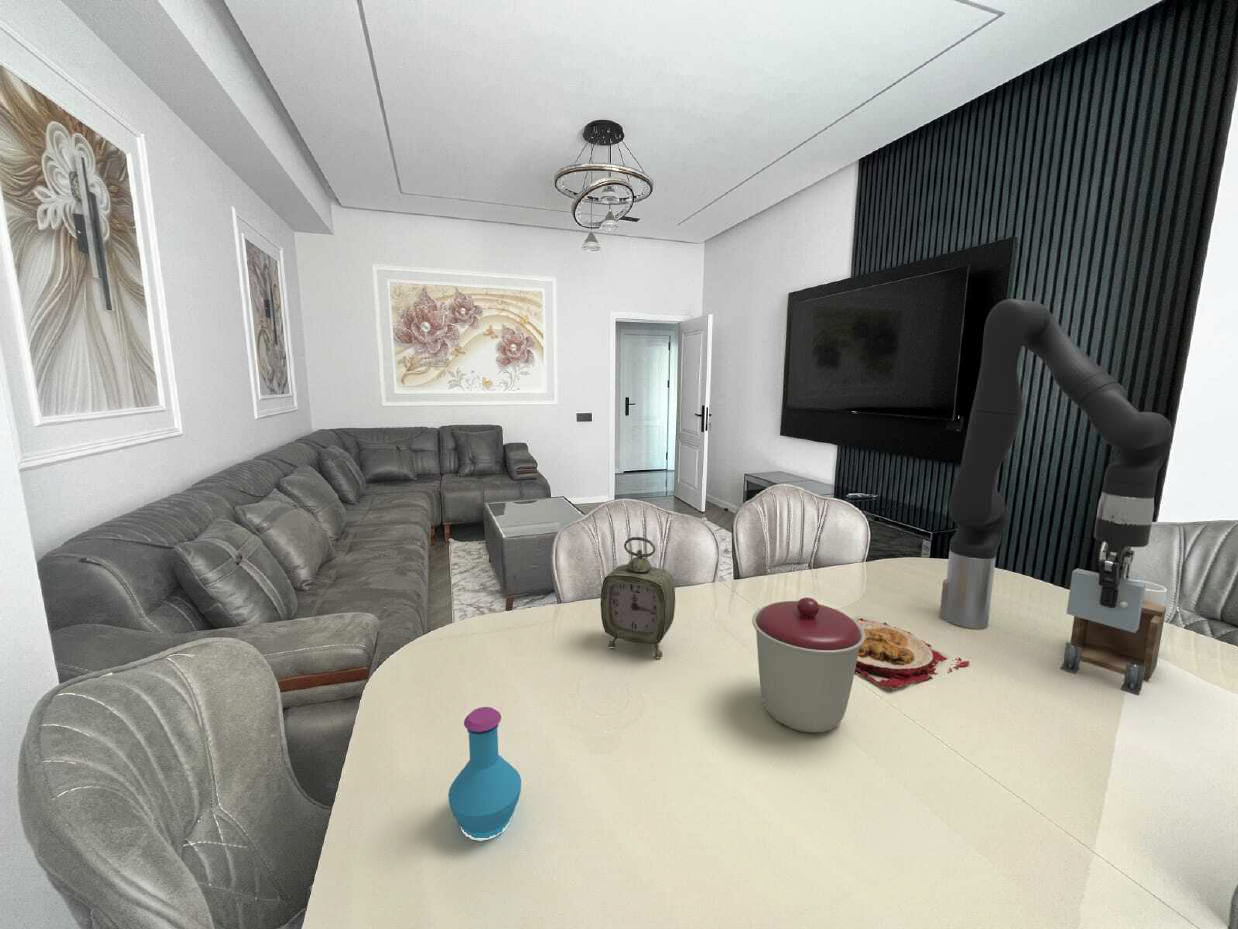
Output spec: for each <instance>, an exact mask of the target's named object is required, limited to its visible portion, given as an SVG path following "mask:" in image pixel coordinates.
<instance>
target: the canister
mask: <svg viewBox="0 0 1238 929" xmlns="http://www.w3.org/2000/svg"><path fill="white" fill-rule="evenodd" d="M853 619H854V618H852V617H849V615H847V614H845V613H844V612H842V611H840V610H837V609H835V608H832V607H830V606H826V605H824V604H820V603H818V601H817V600H816V599H814V598H811V597H802V598H800V599H799V600H789V601H786V600H785V601H778V602H777V601H776V602H774V603H771V604H769V605H766V606H763V607H760V608H758V610H756V611H755V612H754V614H752V618H751V623H752V625H753V627H754V629H755V631H756V633H755V634H756V647H757V661H758V662H757V663H758V675H759V684H760V692H761V693H760V694H761V699H762V702H763V705H764V707H765V708H766V710H767V712H768V713H769V714H770V715H771V717H772V718H774V719H775V721H778V722H779V724H782V725H784V726H785V727H788V728H790V729H793V730H795V729H796V731H800V732H806V733H818V732H819V733H824V732H827V731H830V730H831V729H832V730H833V729H835V728H836V727H837V726H838V725H839V724H840V723H841V721H842V720H843V718H844V717H845V713H846V711H847V707H848V703H849V699H850V696H851V690H852V687H853V686H852V685H853V683H854V682H853V681H854V677H855V673H856V672H855V668H856V663H857V659H858V653H859V648H860V647H861V646H862V644H863V643H864V642H865V638H866V635H865V632H864V630H863V628H862V627H861V626H860V625H859V624H858V623H857V622H856V620H855V619H854V620H855V621H854V620H853Z"/></svg>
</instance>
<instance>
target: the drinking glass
mask: <svg viewBox="0 0 1238 929" xmlns="http://www.w3.org/2000/svg"><path fill="white" fill-rule="evenodd" d="M1131 580H1132V581H1136V582H1141V583H1145V584H1146V586H1145V592H1144V598H1143V601H1144V602H1148V603H1152V604H1157V605H1161V606H1165V607H1166V603H1167V598H1168V597H1167V595H1168V588H1166V586H1163V585H1160V584H1157V583H1154V582H1151V581H1146V580H1138V579H1131Z"/></svg>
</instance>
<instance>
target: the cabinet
mask: <svg viewBox="0 0 1238 929" xmlns="http://www.w3.org/2000/svg"><path fill="white" fill-rule="evenodd" d="M1166 610H1167V606H1166V605H1165V606H1161V605H1157V604H1152V603H1148V602H1144V601H1143V604H1142V610H1141V616H1140V622H1139V628H1138V630H1137V631H1136V632H1135V633H1133V632H1130V631H1126V630H1123V629H1119V628H1115V627H1112V626H1108V625H1105V624H1101V623H1098V622H1094V621H1090V620H1087V619H1083V618H1080V617H1076V616H1073V623H1072V629H1071V637H1070V643H1073V644H1076V645H1079V646H1082V653H1081V660H1080V662H1081V661H1082V662H1085V663H1088V664H1091V665H1094V666H1097V667H1101V668H1103V669H1107V670H1110V671H1114V672H1115V673H1116V672H1117V673H1119V674H1122V675H1125V670H1126V664H1127V660H1129V661H1132V662H1135V663H1139V664H1142V665H1145V671H1144V677H1143V682H1147V681H1148V682H1150V680H1149V679H1151V677H1152V675H1153V674H1154V672H1155V670H1156V667H1157V665H1158V658H1159V652H1160V647H1161V646H1160V645H1161V641H1162V635H1163V628H1164V622H1165V617H1166Z"/></svg>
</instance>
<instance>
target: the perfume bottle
mask: <svg viewBox="0 0 1238 929" xmlns="http://www.w3.org/2000/svg"><path fill="white" fill-rule="evenodd" d="M501 720H502V715H501V713H500V711H498V710H497V709H495V708H493V707H491V706H482V707H481V706H480V707H478V708H475V709H474V710H472V711H470V712H469V714H468V715H467V716H466V717H465V718H464V720H463V726H464V727H465V728H466V730H467V733H468V744H469V746H468V747H469V748H468V749H469V760H468V761H467V763H466V764H465V765H464V767H463V768H462V769H461V770H460V772H459V773H458V775H457V776H456V777H455V778H454V780H453V781H452V783H451V785H450V787H449V789H448V803H449V804H448V805H449V808H450V810H451V812H452V815H453V816H454V818H455V819H456V822H457V824H458V825H459V827H460V828H461V827H462V829H463V830H464V832H466V833H467V834H468V835H471V836H472V837H474V838H489V837H490V836H493V835H497V834H498V833H500V832H502V830H503V828H505V827H506V825H507V824H508V823H509V821H510V818H511V816H512V817H513V814H514V812H515V810H516V807H517V804H518V802H519V799H520V795H521V791H522V778H521V775H520V773H519V771H518V770H517V769H515V767H514V766H513V765H511V764H510V763H509V762H508V761H507V760H505V759H504V757H502V756H501V755H500V754H499V740H498V739H499V738H498V737H499V736H498V728H499V724H500V722H501Z"/></svg>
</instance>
